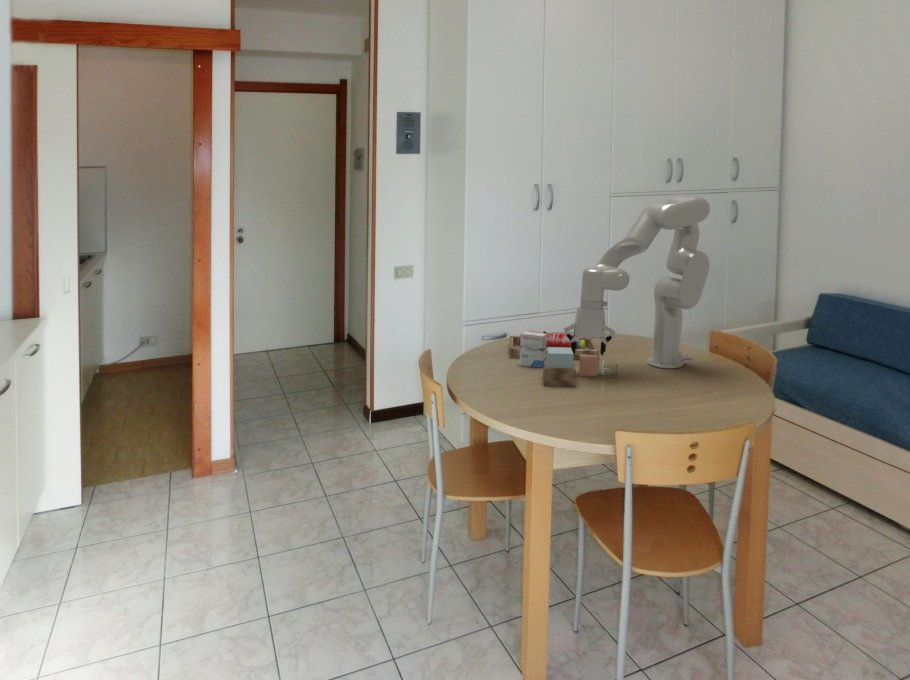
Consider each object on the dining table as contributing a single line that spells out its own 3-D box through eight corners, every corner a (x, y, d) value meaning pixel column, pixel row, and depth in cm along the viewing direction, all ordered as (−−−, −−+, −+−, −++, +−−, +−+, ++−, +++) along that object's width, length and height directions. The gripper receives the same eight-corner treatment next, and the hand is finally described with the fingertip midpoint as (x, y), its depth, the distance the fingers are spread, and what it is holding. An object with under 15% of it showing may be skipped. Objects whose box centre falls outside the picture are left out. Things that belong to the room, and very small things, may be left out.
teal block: (570, 361, 240) (570, 347, 239) (572, 368, 232) (573, 353, 231) (546, 361, 241) (547, 347, 239) (548, 368, 233) (548, 353, 232)
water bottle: (525, 328, 283) (588, 333, 276) (523, 348, 284) (586, 354, 276) (518, 330, 272) (584, 336, 264) (517, 351, 273) (582, 357, 265)
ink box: (546, 364, 257) (547, 333, 254) (541, 368, 253) (542, 336, 250) (523, 361, 261) (524, 330, 258) (519, 365, 256) (520, 333, 254)
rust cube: (596, 371, 250) (597, 355, 248) (598, 376, 244) (599, 359, 242) (579, 371, 250) (579, 354, 248) (580, 376, 244) (581, 359, 243)
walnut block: (572, 378, 242) (573, 361, 241) (575, 387, 233) (575, 369, 231) (543, 377, 243) (543, 360, 242) (544, 386, 234) (545, 368, 232)
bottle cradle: (592, 346, 282) (592, 337, 281) (598, 360, 263) (598, 350, 262) (509, 344, 284) (509, 335, 283) (509, 358, 265) (509, 348, 264)
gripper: (615, 303, 244) (611, 352, 248) (565, 301, 245) (561, 349, 249) (619, 308, 236) (614, 357, 241) (566, 305, 238) (563, 355, 242)
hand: (587, 353), depth 245 cm, fingers open, 9 cm apart
